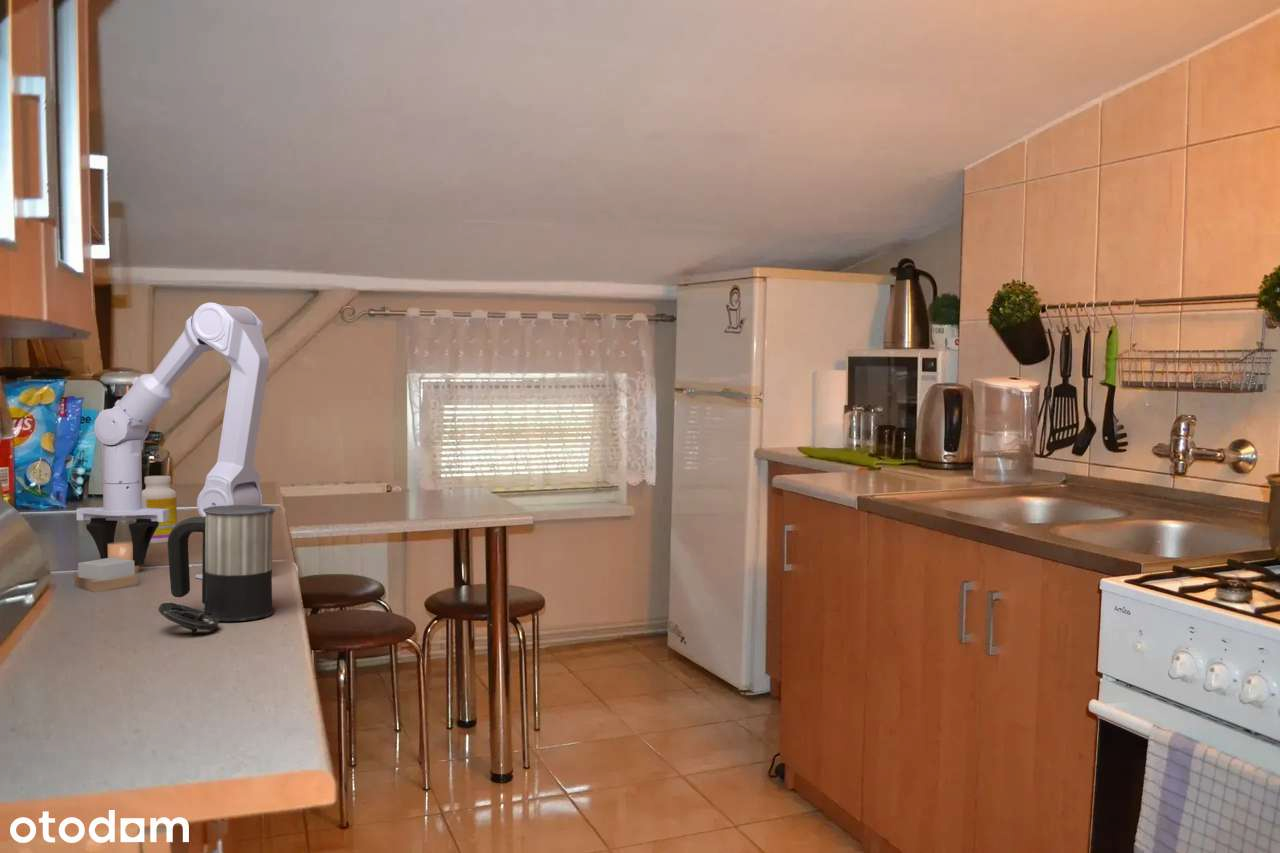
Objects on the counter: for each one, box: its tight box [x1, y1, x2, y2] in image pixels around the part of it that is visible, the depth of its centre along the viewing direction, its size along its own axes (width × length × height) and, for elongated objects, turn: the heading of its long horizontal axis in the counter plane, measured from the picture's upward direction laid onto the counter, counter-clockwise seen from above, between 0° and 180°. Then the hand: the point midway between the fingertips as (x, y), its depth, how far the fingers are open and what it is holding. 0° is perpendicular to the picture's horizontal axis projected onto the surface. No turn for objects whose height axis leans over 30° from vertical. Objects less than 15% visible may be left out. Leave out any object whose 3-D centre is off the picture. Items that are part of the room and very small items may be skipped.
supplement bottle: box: [142, 475, 178, 544], centre depth 201 cm, size 7×7×13 cm
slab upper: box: [77, 558, 136, 581], centre depth 158 cm, size 6×6×2 cm
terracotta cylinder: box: [107, 540, 140, 574], centre depth 169 cm, size 5×5×5 cm
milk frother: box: [158, 504, 276, 634], centre depth 136 cm, size 14×16×15 cm
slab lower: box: [74, 574, 139, 594], centre depth 158 cm, size 6×6×2 cm
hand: (123, 564), depth 169 cm, fingers open, 5 cm apart
